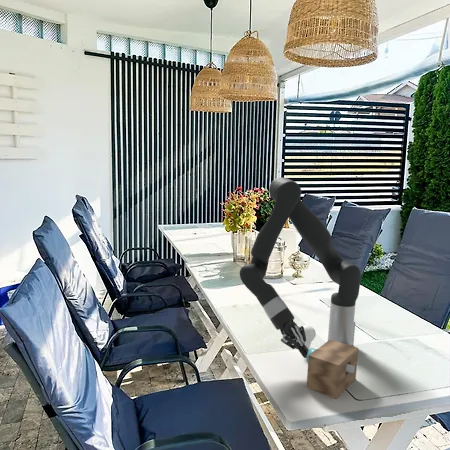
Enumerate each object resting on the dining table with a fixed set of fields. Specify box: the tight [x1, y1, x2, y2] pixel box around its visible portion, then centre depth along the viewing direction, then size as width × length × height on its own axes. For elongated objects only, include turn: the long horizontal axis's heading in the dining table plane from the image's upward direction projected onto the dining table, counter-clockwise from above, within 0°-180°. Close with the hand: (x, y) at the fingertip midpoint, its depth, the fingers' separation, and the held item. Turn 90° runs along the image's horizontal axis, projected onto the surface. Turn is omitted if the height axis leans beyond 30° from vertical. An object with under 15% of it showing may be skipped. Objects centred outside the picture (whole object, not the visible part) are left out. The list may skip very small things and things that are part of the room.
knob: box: [305, 347, 355, 374], centre depth 144 cm, size 15×5×5 cm, turn 53°
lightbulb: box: [302, 324, 317, 350], centre depth 165 cm, size 6×6×11 cm
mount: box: [306, 340, 359, 400], centre depth 144 cm, size 12×16×11 cm
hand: (307, 356), depth 149 cm, fingers closed
